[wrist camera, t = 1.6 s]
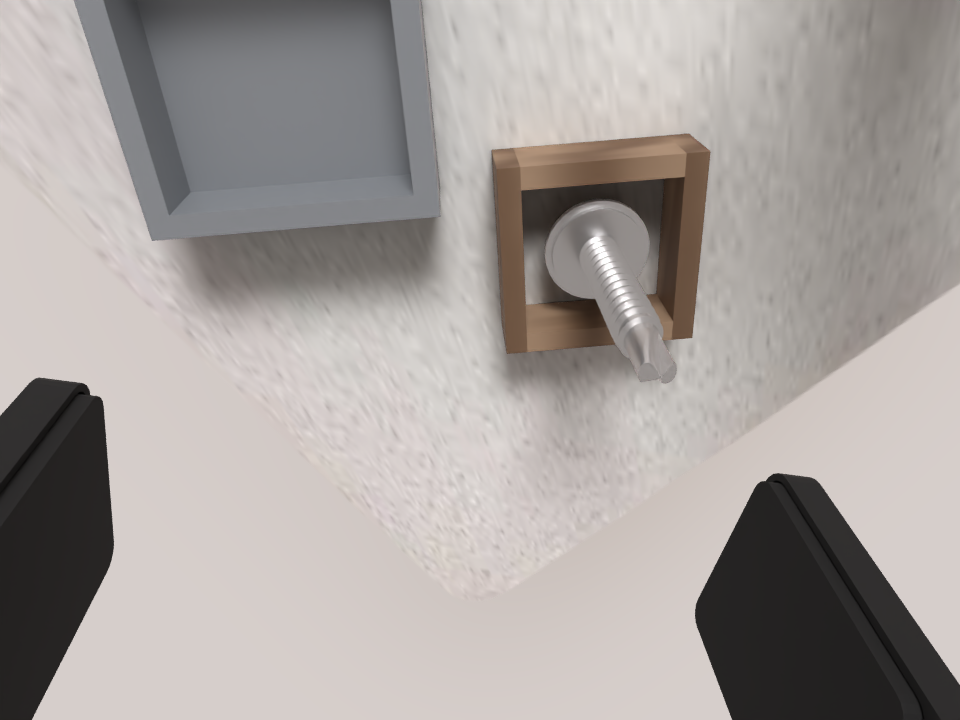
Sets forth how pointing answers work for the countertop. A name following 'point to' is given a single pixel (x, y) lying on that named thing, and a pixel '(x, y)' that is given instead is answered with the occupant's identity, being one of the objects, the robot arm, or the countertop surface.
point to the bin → (268, 111)
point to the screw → (611, 278)
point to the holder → (589, 165)
